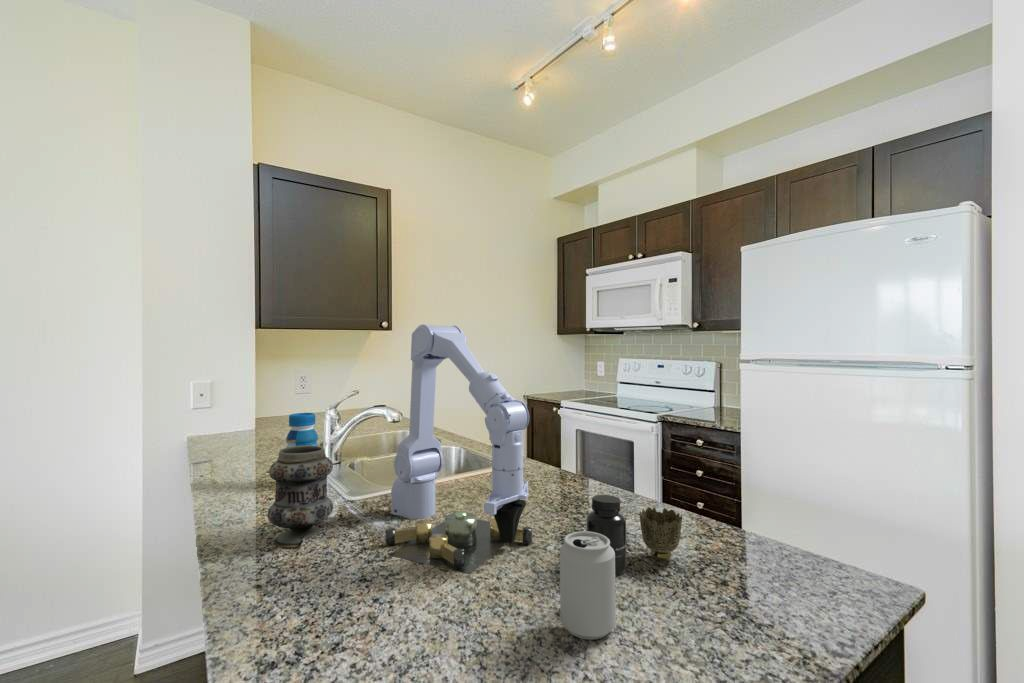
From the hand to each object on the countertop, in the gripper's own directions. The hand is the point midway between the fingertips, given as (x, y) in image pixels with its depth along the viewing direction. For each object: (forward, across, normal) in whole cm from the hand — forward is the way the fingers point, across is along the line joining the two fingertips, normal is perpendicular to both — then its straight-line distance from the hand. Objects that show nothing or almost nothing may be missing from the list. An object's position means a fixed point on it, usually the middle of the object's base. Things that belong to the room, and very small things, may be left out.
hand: (507, 541), depth 87 cm
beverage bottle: (+3, +16, +72) cm, 73 cm away
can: (+3, -15, -20) cm, 25 cm away
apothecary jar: (+3, -10, +42) cm, 43 cm away
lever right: (+1, +4, +1) cm, 4 cm away
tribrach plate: (+3, 0, +10) cm, 10 cm away
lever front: (+1, -9, +7) cm, 12 cm away
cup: (+3, +11, -26) cm, 28 cm away
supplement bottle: (+3, +3, -18) cm, 18 cm away
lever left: (+1, -5, +18) cm, 19 cm away
